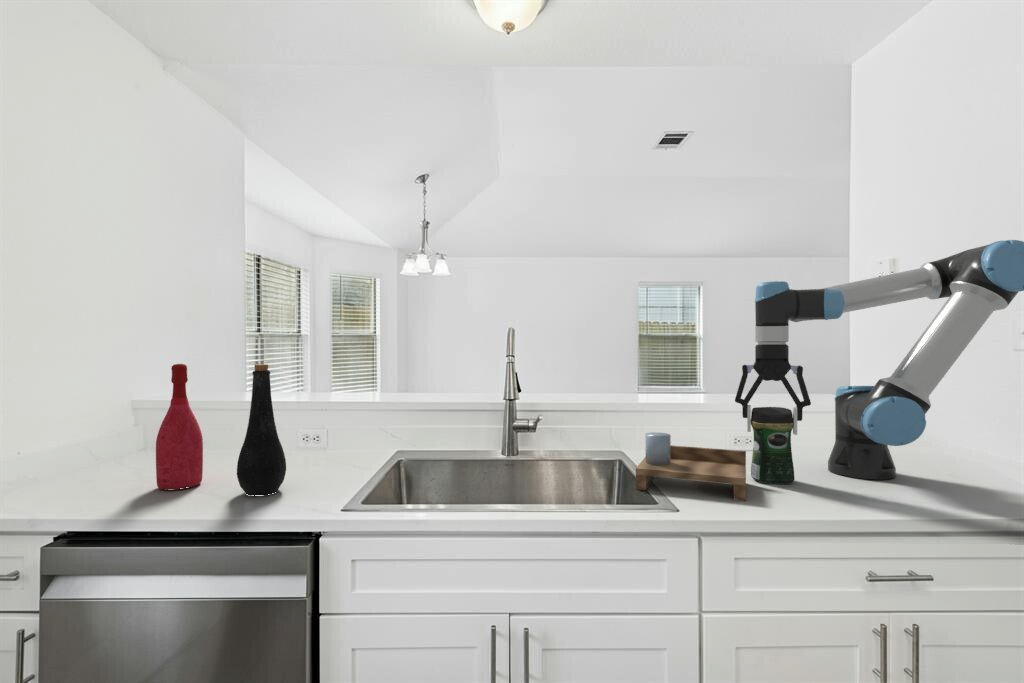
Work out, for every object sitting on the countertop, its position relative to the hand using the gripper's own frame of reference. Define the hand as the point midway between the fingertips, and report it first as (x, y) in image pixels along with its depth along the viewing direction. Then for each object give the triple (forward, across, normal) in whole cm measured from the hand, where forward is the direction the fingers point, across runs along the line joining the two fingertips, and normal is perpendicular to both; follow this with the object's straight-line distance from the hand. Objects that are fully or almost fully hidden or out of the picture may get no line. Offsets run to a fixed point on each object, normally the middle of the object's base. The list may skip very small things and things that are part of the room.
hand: (771, 432), depth 135 cm
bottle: (+12, +110, +58) cm, 125 cm away
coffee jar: (+12, 0, 0) cm, 12 cm away
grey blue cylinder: (+7, +26, +13) cm, 30 cm away
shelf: (+12, +18, +13) cm, 25 cm away
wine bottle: (+12, +133, +62) cm, 147 cm away
